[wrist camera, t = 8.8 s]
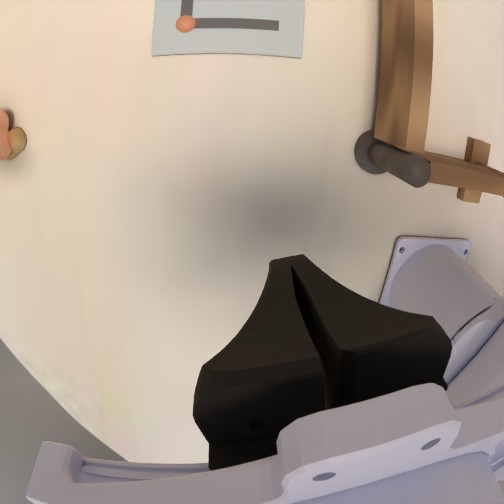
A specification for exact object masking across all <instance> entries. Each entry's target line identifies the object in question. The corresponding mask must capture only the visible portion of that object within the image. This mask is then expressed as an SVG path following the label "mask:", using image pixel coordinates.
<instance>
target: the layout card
mask: <svg viewBox="0 0 504 504" xmlns="http://www.w3.org/2000/svg"><path fill="white" fill-rule="evenodd" d="M304 6H305V0H156V1H155V11H154V23H153V37H152V55H151V56H162V55H178V54H253V55H269V56H281V57H292V58H302V50H303V30H304Z"/></svg>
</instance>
